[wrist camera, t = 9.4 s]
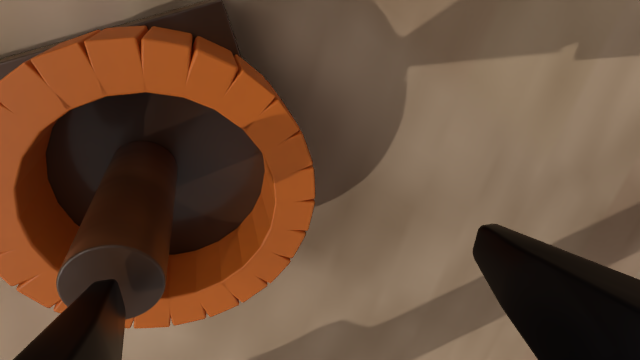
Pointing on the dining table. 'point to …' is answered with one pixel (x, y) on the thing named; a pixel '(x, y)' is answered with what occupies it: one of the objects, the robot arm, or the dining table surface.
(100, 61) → the toy tire
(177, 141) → the peg stand
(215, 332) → the dining table surface
